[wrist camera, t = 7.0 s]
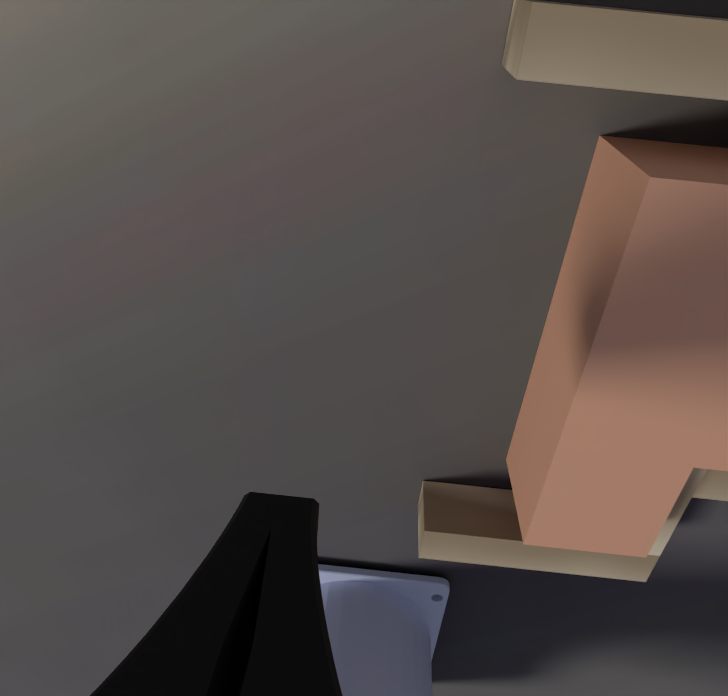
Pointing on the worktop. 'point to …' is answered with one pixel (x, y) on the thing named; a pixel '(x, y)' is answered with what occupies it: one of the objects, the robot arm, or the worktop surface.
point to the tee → (629, 353)
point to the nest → (602, 70)
